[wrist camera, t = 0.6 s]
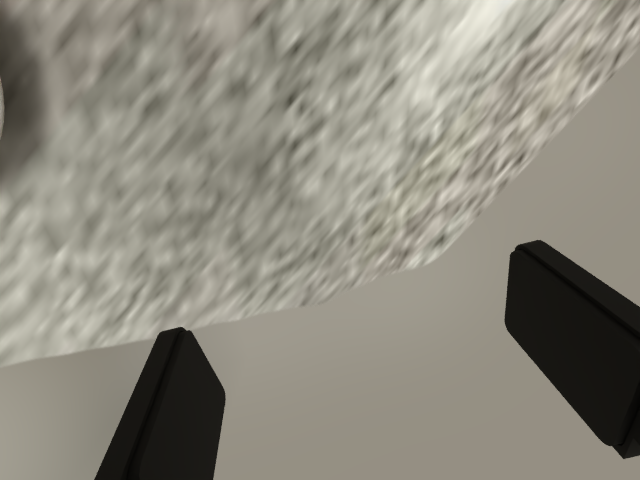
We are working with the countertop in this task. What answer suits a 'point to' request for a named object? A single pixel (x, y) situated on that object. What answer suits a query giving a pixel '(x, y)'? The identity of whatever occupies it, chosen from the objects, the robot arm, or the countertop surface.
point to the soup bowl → (1, 109)
